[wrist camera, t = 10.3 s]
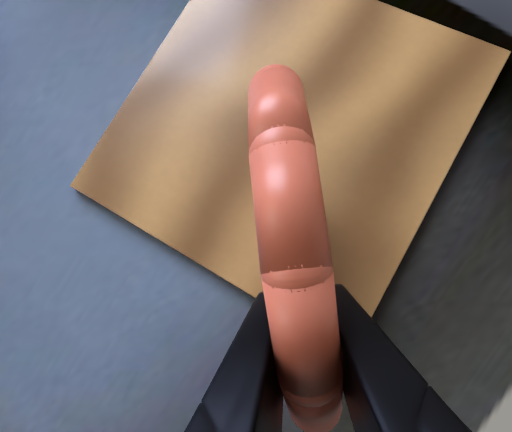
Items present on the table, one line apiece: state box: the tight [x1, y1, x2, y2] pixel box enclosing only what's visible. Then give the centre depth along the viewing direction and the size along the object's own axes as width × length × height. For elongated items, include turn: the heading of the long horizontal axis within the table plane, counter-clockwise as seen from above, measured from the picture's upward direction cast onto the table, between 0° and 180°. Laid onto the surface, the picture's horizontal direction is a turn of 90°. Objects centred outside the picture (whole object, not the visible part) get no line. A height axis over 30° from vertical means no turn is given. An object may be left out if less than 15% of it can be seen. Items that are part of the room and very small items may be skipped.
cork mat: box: [70, 0, 511, 318], centre depth 18 cm, size 16×16×1 cm
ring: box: [248, 64, 343, 432], centre depth 12 cm, size 10×1×10 cm, turn 6°
